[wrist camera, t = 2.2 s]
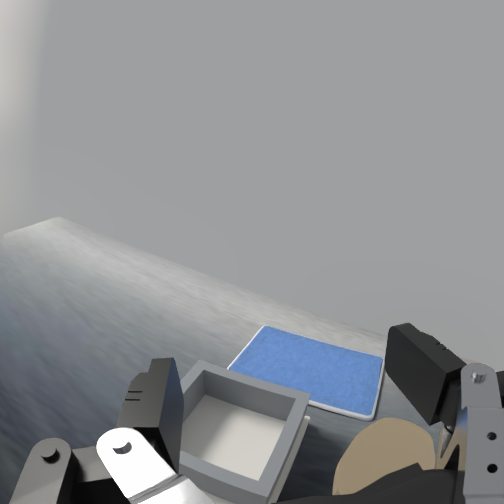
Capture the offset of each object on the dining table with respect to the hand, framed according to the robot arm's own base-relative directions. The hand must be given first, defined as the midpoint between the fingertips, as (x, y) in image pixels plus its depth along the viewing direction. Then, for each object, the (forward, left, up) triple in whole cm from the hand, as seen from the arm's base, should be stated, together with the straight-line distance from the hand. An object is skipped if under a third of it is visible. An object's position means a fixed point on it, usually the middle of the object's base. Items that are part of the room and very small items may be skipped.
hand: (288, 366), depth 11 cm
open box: (+6, +6, -21) cm, 22 cm away
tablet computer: (+23, +1, -22) cm, 32 cm away
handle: (+1, -6, -21) cm, 22 cm away
